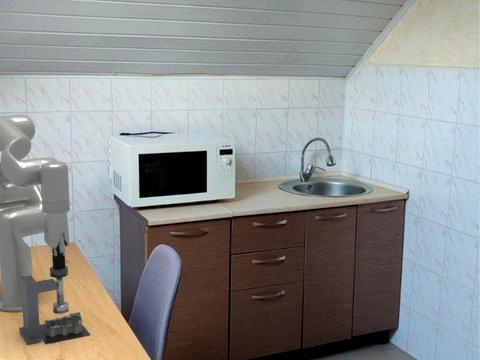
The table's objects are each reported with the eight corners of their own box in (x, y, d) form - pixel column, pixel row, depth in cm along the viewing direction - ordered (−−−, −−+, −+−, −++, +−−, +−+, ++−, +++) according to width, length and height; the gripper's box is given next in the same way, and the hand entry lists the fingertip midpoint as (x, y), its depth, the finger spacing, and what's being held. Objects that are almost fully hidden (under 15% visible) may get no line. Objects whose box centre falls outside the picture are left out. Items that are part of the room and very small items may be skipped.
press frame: (18, 329, 198) (14, 273, 195) (77, 318, 206) (74, 264, 203) (28, 348, 186) (25, 289, 183) (90, 336, 195) (88, 279, 191)
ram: (50, 309, 197) (47, 266, 194) (67, 306, 199) (65, 264, 197) (54, 315, 193) (52, 272, 190) (71, 312, 195) (69, 269, 193)
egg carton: (82, 324, 202) (81, 311, 201) (83, 334, 195) (82, 321, 194) (45, 327, 199) (44, 314, 198) (44, 338, 192) (44, 324, 191)
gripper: (36, 201, 194) (39, 263, 198) (49, 213, 182) (52, 278, 185) (62, 199, 198) (65, 259, 202) (76, 210, 185) (79, 274, 189)
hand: (59, 268), depth 193 cm, fingers closed
